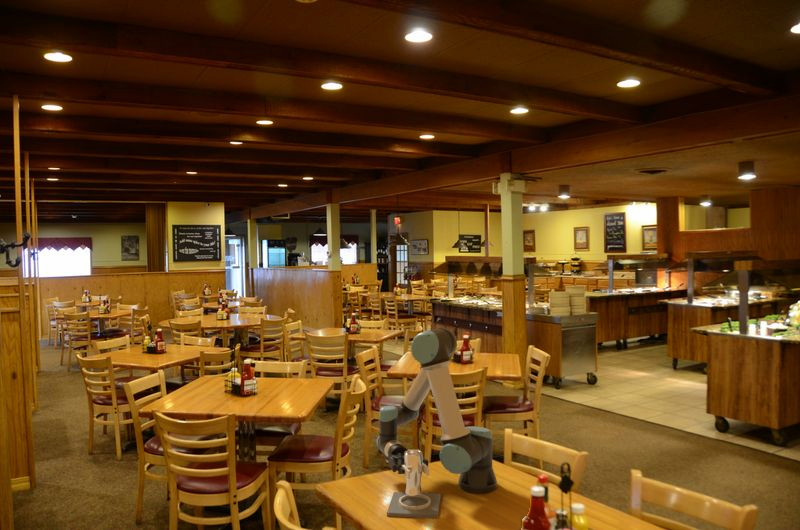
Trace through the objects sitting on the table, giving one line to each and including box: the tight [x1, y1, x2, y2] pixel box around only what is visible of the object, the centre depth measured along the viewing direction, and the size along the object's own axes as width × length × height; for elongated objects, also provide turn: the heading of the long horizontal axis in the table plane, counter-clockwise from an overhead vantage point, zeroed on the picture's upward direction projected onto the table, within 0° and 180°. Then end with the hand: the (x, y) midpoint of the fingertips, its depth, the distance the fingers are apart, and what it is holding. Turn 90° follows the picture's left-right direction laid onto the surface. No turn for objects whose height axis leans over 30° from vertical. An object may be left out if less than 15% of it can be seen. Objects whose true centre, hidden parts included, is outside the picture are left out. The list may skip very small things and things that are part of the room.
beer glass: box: [403, 449, 424, 496], centre depth 215 cm, size 7×7×15 cm
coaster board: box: [386, 491, 442, 519], centre depth 215 cm, size 18×18×2 cm
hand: (418, 473), depth 210 cm, fingers closed on beer glass, 7 cm apart
